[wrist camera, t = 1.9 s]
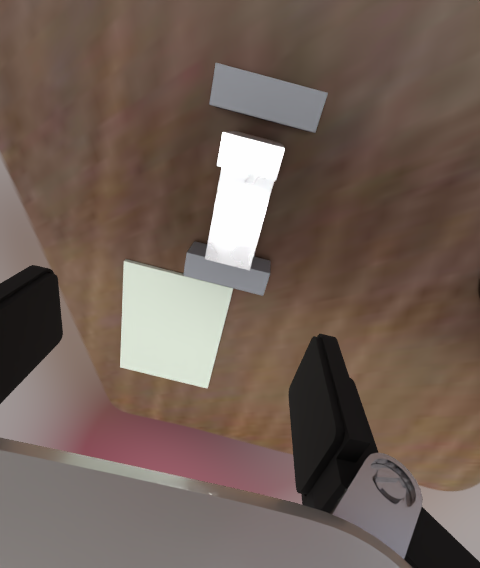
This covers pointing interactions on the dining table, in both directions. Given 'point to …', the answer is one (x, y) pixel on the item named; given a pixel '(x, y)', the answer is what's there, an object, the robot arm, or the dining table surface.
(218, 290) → the mat
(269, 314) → the dining table surface
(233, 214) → the white pedestal stand
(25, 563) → the robot arm
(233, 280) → the vise jaws
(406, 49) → the dining table surface
